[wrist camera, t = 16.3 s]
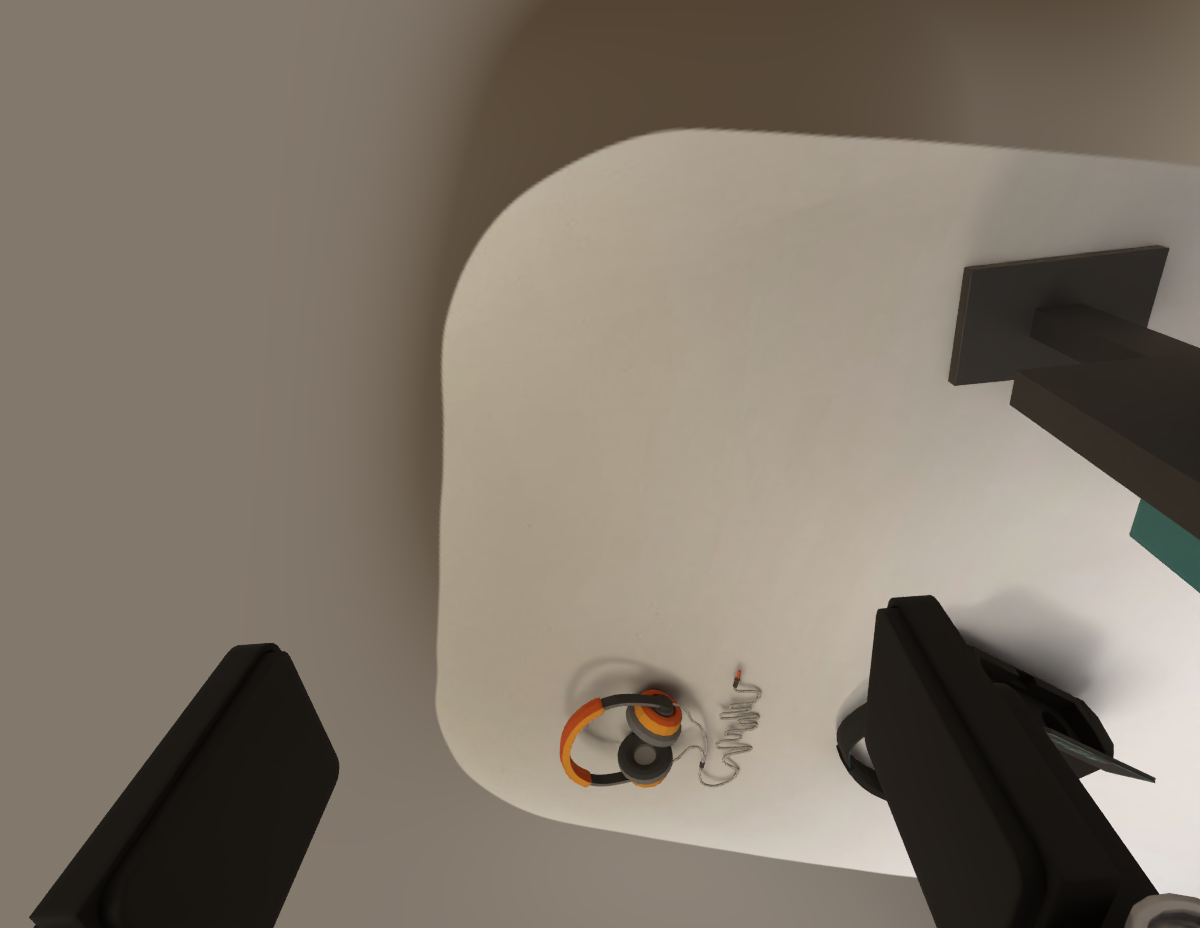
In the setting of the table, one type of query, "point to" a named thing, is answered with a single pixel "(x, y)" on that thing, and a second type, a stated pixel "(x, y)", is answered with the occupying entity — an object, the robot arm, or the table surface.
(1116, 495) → the table surface
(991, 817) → the robot arm
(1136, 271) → the monitor
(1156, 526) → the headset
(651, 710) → the headphones
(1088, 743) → the virtual reality headset
